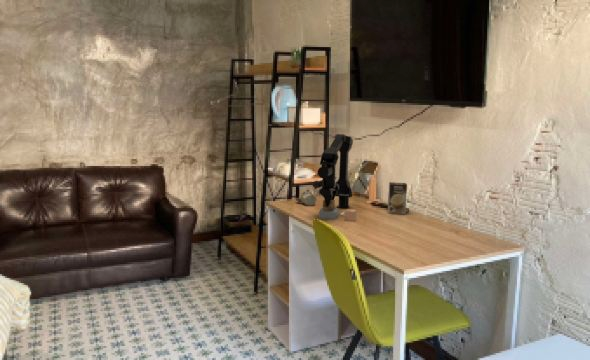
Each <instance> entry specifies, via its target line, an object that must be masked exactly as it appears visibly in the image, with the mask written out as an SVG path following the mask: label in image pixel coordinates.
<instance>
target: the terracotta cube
mask: <svg viewBox="0 0 590 360" xmlns="http://www.w3.org/2000/svg"><path fill="white" fill-rule="evenodd" d="M344 212H345V216H344V222H355V221H356V220H357V212H358V211H357V209H351V208H345V210H344Z"/></svg>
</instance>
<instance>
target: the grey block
mask: <svg viewBox="0 0 590 360" xmlns="http://www.w3.org/2000/svg"><path fill="white" fill-rule="evenodd" d="M339 210H340V208H337V207H336V208H335V209H334V210H333V211H323V207H321V208H320V209H319V211H318V218H319V219H324V220H327V219H328V220H337V219H338V217H339V215H340V213H339Z"/></svg>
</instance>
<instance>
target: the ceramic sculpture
mask: <svg viewBox="0 0 590 360" xmlns="http://www.w3.org/2000/svg"><path fill="white" fill-rule="evenodd" d="M295 201H297V203H302V204H305V205H306V206H309V207H311V206H315V205H316V203H317V197H316V196H315V194H313V193H312V191H311V190H310V189H306V191H303V192H302V193H301V195H300V196H299V197H296V198H295Z"/></svg>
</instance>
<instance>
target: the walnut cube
mask: <svg viewBox="0 0 590 360" xmlns="http://www.w3.org/2000/svg"><path fill="white" fill-rule="evenodd" d="M335 205H336V200H335V199H334V200H331V201H330V204H329V207H326V203H325V199H324V200H322V208H323V211H333V210H334V209H335Z"/></svg>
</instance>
